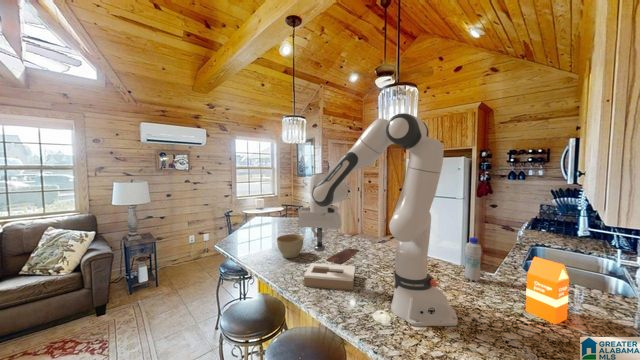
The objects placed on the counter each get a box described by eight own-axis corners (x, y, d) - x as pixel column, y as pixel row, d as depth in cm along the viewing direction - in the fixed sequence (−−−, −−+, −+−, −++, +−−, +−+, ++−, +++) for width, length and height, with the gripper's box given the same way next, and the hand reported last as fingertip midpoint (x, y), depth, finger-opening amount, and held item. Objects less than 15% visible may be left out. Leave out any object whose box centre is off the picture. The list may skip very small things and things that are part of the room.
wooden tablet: (347, 246, 164) (361, 247, 158) (347, 249, 164) (361, 250, 158) (324, 259, 142) (339, 261, 137) (325, 263, 142) (340, 265, 137)
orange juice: (555, 324, 84) (558, 266, 83) (525, 310, 92) (527, 257, 91) (567, 318, 88) (570, 262, 86) (537, 305, 96) (539, 254, 94)
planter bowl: (305, 251, 158) (305, 234, 158) (301, 261, 142) (301, 242, 142) (280, 250, 160) (280, 233, 159) (273, 260, 144) (273, 241, 143)
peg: (325, 248, 120) (325, 225, 119) (323, 251, 115) (323, 228, 114) (315, 247, 121) (315, 225, 120) (313, 251, 116) (313, 227, 115)
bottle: (482, 279, 118) (483, 237, 116) (479, 284, 113) (480, 240, 111) (466, 275, 122) (467, 234, 121) (462, 279, 117) (463, 237, 116)
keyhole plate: (355, 276, 122) (355, 266, 122) (353, 290, 109) (353, 279, 108) (311, 272, 127) (311, 263, 127) (304, 285, 113) (304, 275, 113)
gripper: (296, 208, 116) (296, 237, 117) (340, 209, 112) (340, 240, 112) (299, 205, 122) (300, 233, 123) (341, 207, 118) (341, 236, 119)
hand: (319, 236), depth 118 cm, fingers closed on peg, 2 cm apart
